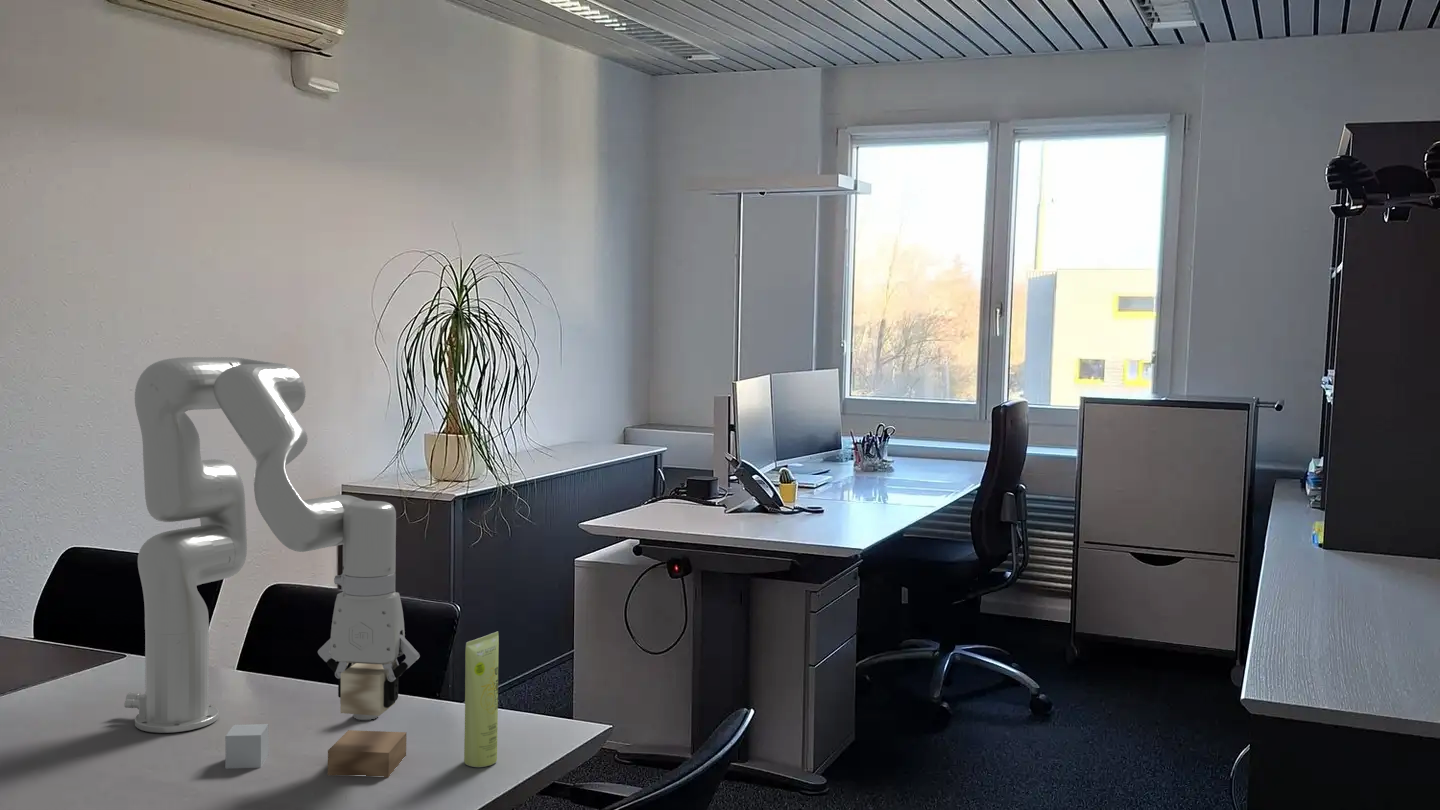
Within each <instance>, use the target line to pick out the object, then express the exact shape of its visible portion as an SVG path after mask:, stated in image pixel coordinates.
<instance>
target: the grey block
mask: <svg viewBox="0 0 1440 810" xmlns="http://www.w3.org/2000/svg"><path fill="white" fill-rule="evenodd" d="M224 741H225V745H224V746H225V762H224V763H225V770H226V769H227V770H228V769H254V768H255V769H256V768H257V769H259V768H260V769H261V768H262V766H263V765H264V763H265V762H266V760H267V759H268V758H269V723H260V724H259V723H256V724H255V723H253V724H252V723H251V724H250V723H249V724H234V725H232V727H231V728H230V729H229V730H228V732H227V733H226V734H225V740H224Z"/></svg>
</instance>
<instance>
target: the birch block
mask: <svg viewBox="0 0 1440 810" xmlns="http://www.w3.org/2000/svg"><path fill="white" fill-rule="evenodd" d="M386 680H387V677H386V674H385V671H384V668H383V666H382V664H363V663H353V665H352V666H351V667H349V668H348V669H346V670H345V671H343V672H342V673H341V704H340V707H339V708H340V710H339V711H340V714H347V715H349V714H350V715H353V714H360V715H376V716H382V714H384V713H385V712H386V711H387V710H389V709H390V708H392V706H393V705H395V704H396V702H395V703H394V704H393V705H391V706H390V707H389V708H385V707H384V682H385V681H386Z"/></svg>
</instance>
